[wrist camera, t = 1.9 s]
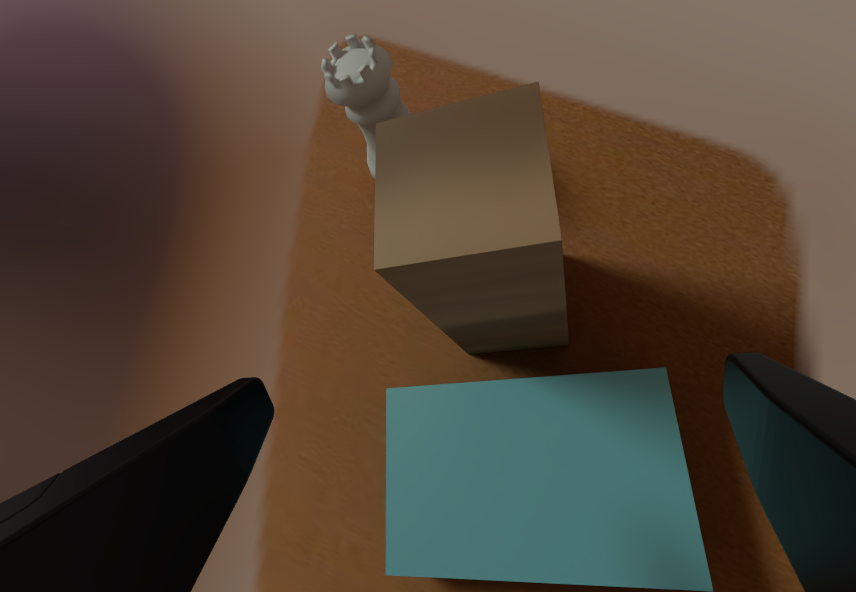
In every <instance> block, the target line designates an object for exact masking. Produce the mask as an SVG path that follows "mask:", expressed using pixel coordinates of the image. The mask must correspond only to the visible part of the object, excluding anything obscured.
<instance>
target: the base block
mask: <svg viewBox="0 0 856 592" xmlns="http://www.w3.org/2000/svg"><path fill="white" fill-rule="evenodd" d="M386 575H394V576H414V577H434V578H454V579H474V580H494V581H513V582H533V583H553V584H573V585H593V586H613V587H633V588H653V589H673V590H693V591H713V587H712V582H711V578H710V573H709V568H708V564H707V559H706V554H705V550H704V545H703V540H702V535H701V531H700V526H699V521H698V517H697V512H696V507H695V502H694V498H693V493H692V488H691V484H690V479H689V474H688V470H687V465H686V460H685V455H684V451H683V446H682V441H681V437H680V432H679V427H678V422H677V418H676V413H675V408H674V404H673V399H672V394H671V389H670V385H669V380H668V375H667V371H666V367H665V368H651V369H638V370H625V371H612V372H599V373H586V374H573V375H559V376H546V377H533V378H520V379H507V380H494V381H481V382H467V383H454V384H441V385H428V386H415V387H402V388H388V389H386Z"/></svg>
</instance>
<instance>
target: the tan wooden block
mask: <svg viewBox="0 0 856 592" xmlns="http://www.w3.org/2000/svg"><path fill="white" fill-rule="evenodd" d="M374 270H375V271H376V272H377V273H378V274H379V275H380V276H382V277H383V278H384V279H385V280H386V281H387V282H388V283H389V284H391V285H392V286H393V287H394V288H395V289H396V290H397V291H398V292H399V293H401V294H402V295H403V296H404V297H405V298H406V299H407V300H408V301H410V302H411V303H412V304H413V305H414V306H415V307H416V308H417V309H419V310H420V311H421V312H422V313H423V314H424V315H425V316H426V317H427V318H429V319H430V320H431V321H432V322H433V323H434V324H435V325H436V326H438V327H439V328H440V329H441V330H442V331H443V332H444V333H445V334H446V335H448V336H449V337H450V338H451V339H452V340H453V341H454V342H455V343H457V344H458V345H459V346H460V347H461V348H462V349H463V350H464V351H466V352H467V353H468V354H469V355H470V354H481V353H492V352H502V351H513V350H524V349H534V348H545V347H556V346H566V345H569V336H568V322H567V308H566V293H565V279H564V265H563V250H562V238H561V231H560V225H559V218H558V211H557V204H556V197H555V190H554V184H553V177H552V170H551V163H550V156H549V150H548V143H547V136H546V129H545V122H544V115H543V109H542V102H541V95H540V88H539V82H535V83H531V84H527V85H524V86H520V87H516V88H512V89H508V90H504V91H500V92H496V93H492V94H489V95H485V96H481V97H477V98H473V99H469V100H465V101H461V102H457V103H454V104H450V105H446V106H442V107H438V108H434V109H430V110H426V111H422V112H419V113H415V114H411V115H407V116H403V117H399V118H395V119H391V120H387V121H384V122H380V123H376V162H375V232H374Z"/></svg>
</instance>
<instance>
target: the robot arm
mask: <svg viewBox="0 0 856 592" xmlns="http://www.w3.org/2000/svg"><path fill="white" fill-rule="evenodd" d="M723 402H724V406H725V410H726V413H727V415H728V418H729V421H730V424H731V426H732V429H733V432H734V435H735V437H736V440H737V443H738V446H739V448H740V451H741V454H742V457H743V459H744V462H745V465H746V468H747V470H748V473H749V476H750V479H751V481H752V484H753V487H754V489H755V492H756V494H757V496H758V499H759V501H760V503H761V505H762V507H763V509H764V511H765V513H766V515H767V517H768V519H769V521H770V523H771V525H772V527H773V529H774V531H775V533H776V535H777V537H778V539H779V541H780V543H781V545H782V547H783V549H784V551H785V553H786V555H787V557H788V559H789V561H790V563H791V565H792V567H793V569H794V571H795V573H796V575H797V577H798V579H799V581H800V583H801V585H802V587H803V588H804V590H805V592H856V400H855V399H853V398H851V397H849V396H847V395H844V394H843V393H841V392H839V391H837V390H835V389H832V388H830V387H828V386H826V385H824V384H822V383H820V382H818V381H816V380H814V379H812V378H810V377H808V376H806V375H804V374H802V373H800V372H797V371H795V370H793V369H791V368H789V367H787V366H785V365H783V364H781V363H779V362H777V361H775V360H773V359H771V358H769V357H767V356H765V355H762V354H760V353H757V352H749V353H732V354H729V355H728V356H727V358H726V361H725V372H724V385H723ZM273 417H274V406H273V404H272V401H271V399H270V397H269V395H268V393H267V390H266V388H265V386H264V384H263V382H262V381H261V380H260V379H259V378H256V377H252V378H241V379H238V380H236V381H234V382H232V383H230V384H228V385H227V386H225V387H223V388H221V389H220V390H217V391H215V392H213V393H211V394H209V395H207V396H206V397H204V398H202V399H200V400H198V401H196V402H194V403H192V404H190V405H188V406H186V407H184V408H183V409H181V410H179V411H177V412H175V413H173V414H171V415H169V416H167V417H165V418H164V419H161V420H160V421H158V422H156V423H154V424H152V425H150V426H148V427H147V428H144V429H142V430H140V431H139V432H137V433H135V434H133V435H131V436H129V437H127V438H125V439H123V440H121V441H119V442H118V443H116V444H114V445H112V446H110V447H108V448H106V449H104V450H102V451H100V452H98V453H96V454H94V455H92V456H91V457H89V458H87V459H85V460H83V461H81V462H79V463H77V464H75V465H73V466H71V467H70V468H68V469H66V470H64V471H63V472H62V473H58V474H56V475H54V476H52V477H50V478H48V479H46V480H44V481H43V482H41V483H39V484H37V485H35V486H33V487H31V488H29V489H27V490H25V491H23V492H21V493H19V494H17V495H15V496H13V497H11V498H9V499H8V500H5V501H4V502H2V503H0V592H191V590H192V588H193V586H194V584H195V582H196V580H197V578H198V577H199V574H200V572H201V571H202V569H203V567H204V565H205V563H206V561H207V559H208V557H209V555H210V553H211V551H212V549H213V547H214V545H215V543H216V542H217V540H218V538H219V536H220V534H221V532H222V530H223V528H224V526H225V524H226V522H227V520H228V518H229V516H230V514H231V512H232V510H233V508H234V506H235V505H236V503H237V500H238V499H239V497H240V495H241V493H242V491H243V489H244V487H245V485H246V483H247V481H248V478H249V476H250V474H251V471H252V469H253V467H254V464H255V462H256V459H257V457H258V454H259V452H260V449H261V447H262V444H263V442H264V440H265V437H266V435H267V432H268V430H269V427H270V425H271V422H272V420H273Z"/></svg>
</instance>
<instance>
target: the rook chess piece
mask: <svg viewBox="0 0 856 592" xmlns="http://www.w3.org/2000/svg"><path fill="white" fill-rule="evenodd" d="M361 40H362V42H363V43H361V42H360V40H359V38H358V36H357V35H356V34H353V35H349V36H346V42H347V43H348V45H349V46H348V47H346V48H345V49H343V50H341V49H340V47H339V46H338V44H337V43H336V42H335V43H334V44H333V45H332V46H331V47H330V48H329V49H328V51H329V53H330V55H331V56H332V58H333V59H332V61H331V63H330V61H329V59H323V60H322V65H321V69H322V71H323V72H324V73H325V75H324V77H325V79H326V83H325V90H326V93H327V96H328V98H329V99H330V100H331V101H332V102H334V103H335V104H337V105H342V106H346V107H345V111H346V114H347V116H348V118H349V119H350V120H351V121H352V122H354V123H356V124H358V126H359V127H360V129H361V130H362V133H363V135H364V137H365V139H366V141H367V153H368V155H367V163H368V166H369V169H370V172H371V175H372V177H373V178H374V179H375V162H376V123H380V122H384V121H387V120H391V119H395V118H399V117H403V116H407V115H411V112H410V111H409V110H408V108H407V107H406V106H405V104H404V103H403V102H402V100H401V98H400V88H399V85H398V83H397V81H396V80H394V79H393V78H391V72H392V59H391V57H390V55H389V53H388V52H387V51H386V50H384V49H383V48H381V47H379V46H376V45H375V44H374V42H373V40H372V39H371V38H370V37H368V36H367V35H365V36H364V37H363V38H362V39H361Z"/></svg>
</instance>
